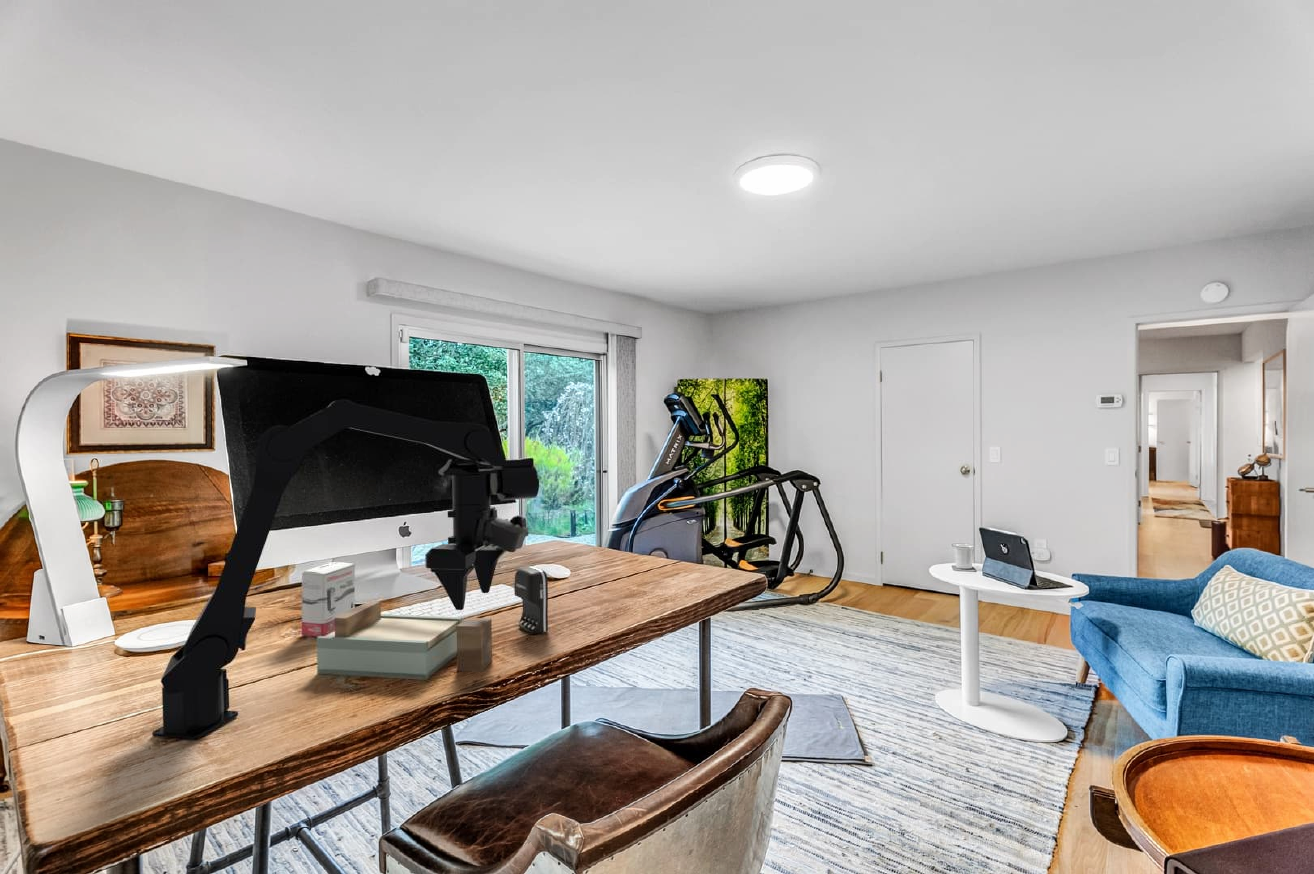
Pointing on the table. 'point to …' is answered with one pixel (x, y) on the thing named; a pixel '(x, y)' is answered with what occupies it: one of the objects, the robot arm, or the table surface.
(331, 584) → the ink box
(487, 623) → the small brown rectangular block
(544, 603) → the black handheld device
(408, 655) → the pale green tray
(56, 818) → the table surface
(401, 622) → the lid
